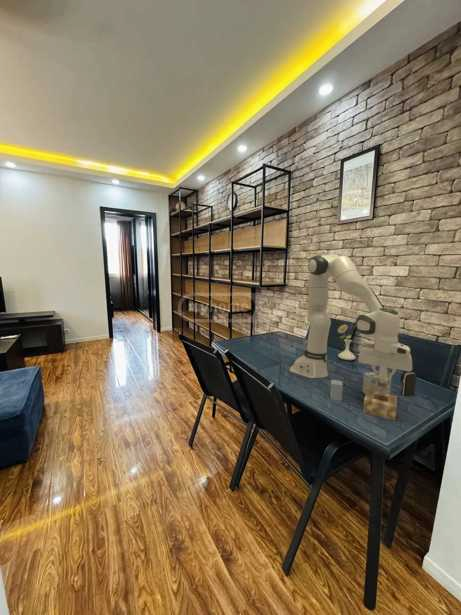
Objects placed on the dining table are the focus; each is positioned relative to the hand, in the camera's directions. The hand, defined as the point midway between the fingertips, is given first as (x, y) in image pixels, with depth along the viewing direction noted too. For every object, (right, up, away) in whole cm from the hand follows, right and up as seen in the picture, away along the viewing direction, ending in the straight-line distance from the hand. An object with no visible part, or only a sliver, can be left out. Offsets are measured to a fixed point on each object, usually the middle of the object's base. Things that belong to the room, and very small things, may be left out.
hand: (383, 376), depth 113 cm
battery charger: (+23, -14, +18) cm, 32 cm away
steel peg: (0, -4, 0) cm, 4 cm away
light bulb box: (+6, -14, +17) cm, 23 cm away
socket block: (0, -16, +2) cm, 16 cm away
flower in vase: (+15, -7, +70) cm, 72 cm away
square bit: (-15, -14, +14) cm, 25 cm away
